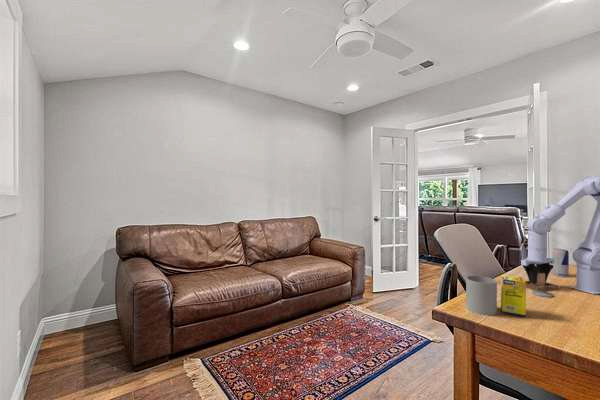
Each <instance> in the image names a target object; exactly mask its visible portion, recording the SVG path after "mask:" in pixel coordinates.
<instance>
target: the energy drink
mask: <svg viewBox="0 0 600 400" xmlns="http://www.w3.org/2000/svg"><path fill="white" fill-rule="evenodd" d="M569 256H570V252H569V249H565V248H553V250H552V259H554V264H552V265H553V268H552V276H555V277H558V278H559V277H561V278H568V277H569V276H570V275H569V274H570V273H569V271H570V267H569V264H570V262H569V261H570V260H569V259H570V257H569Z"/></svg>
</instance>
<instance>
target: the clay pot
mask: <svg viewBox="0 0 600 400" xmlns="http://www.w3.org/2000/svg"><path fill="white" fill-rule="evenodd" d="M530 284H531V285H534V286H537V287H539V286H545V273H544V272H540V271H538V274H537V282H536V283H531V282H530Z"/></svg>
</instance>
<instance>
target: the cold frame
mask: <svg viewBox="0 0 600 400" xmlns="http://www.w3.org/2000/svg"><path fill="white" fill-rule="evenodd" d="M525 282H526V289H529V290H531V291H545V292H549V291H556V290H559V285H558V284H554V283H550V282H547V281H546V282H545V286H539V287H537V286H534V285H531V284H530V282H529V280H525Z"/></svg>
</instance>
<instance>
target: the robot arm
mask: <svg viewBox="0 0 600 400" xmlns="http://www.w3.org/2000/svg"><path fill="white" fill-rule="evenodd" d="M586 196H591V197H592V198H593V199H595V201H596V202H597V203H596V207H595V209H594V213H593V216H592V218H591V220H590V221H591V222H590V224H589V227H588V230H587V234H586V235H585V236H586V237H585V238H584V240H583V241H582V242H580V243H579V244H578V246H577V247H576V249H575V250H573V252H572V255H571V258H572V259H573V261H574V262H575V264H576V285H573V286H570V289H574V290H578V291H581V292H586V293H589V294H593V295H600V176H586V177H583V178H582V179H581V180H580V181H579V182H577V183H576V184H575V185H574V187H573V188H572V189H571V190H570V191H568V192H567V193H566V195H564V196H563V197H562V198H561V199H560V200H559V201H558V202H557V203H556V204H555V203H551V204H547V205H545V206H544V209H543V210H542V211H541V212H539V213H538V214H535V217H533V218H530V219H528V221H527V222H526V224H525V228H526V230H527V231H528V256H527V257H526V258H524V259H521V260H520V265H521V266H522V267H523V269H524V271H525V272H526V275H527V278H528V281H529V282H531V283H536V282H537V274H538V271H540V272H544V273H545V282H547V281H548V277H549V275H550V273H551V272H552V271H553V264H554V259H553V257H552V258H551V257H548V232H550V231H551V229H552V226H553V225H554V224H555V223H556V222H557V221H559V220H560V219H561V218H563V217H564V216H565V215H566V210H567V209H568V208H569V207H571V206H573V204H575V203H577V202H578V201H579V200H580V199H581V198H583V197H586Z"/></svg>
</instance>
